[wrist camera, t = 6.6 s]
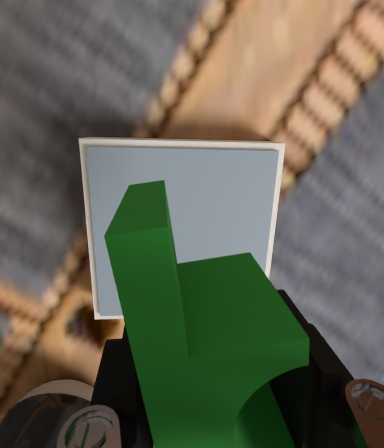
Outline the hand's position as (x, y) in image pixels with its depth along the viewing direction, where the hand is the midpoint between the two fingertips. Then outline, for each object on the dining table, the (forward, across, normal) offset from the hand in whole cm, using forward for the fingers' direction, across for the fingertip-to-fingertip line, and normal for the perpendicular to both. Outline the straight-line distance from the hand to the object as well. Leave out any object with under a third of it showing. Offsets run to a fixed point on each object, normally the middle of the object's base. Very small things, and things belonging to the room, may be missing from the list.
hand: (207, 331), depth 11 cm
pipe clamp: (+1, 0, 0) cm, 1 cm away
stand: (+15, 0, +1) cm, 15 cm away
